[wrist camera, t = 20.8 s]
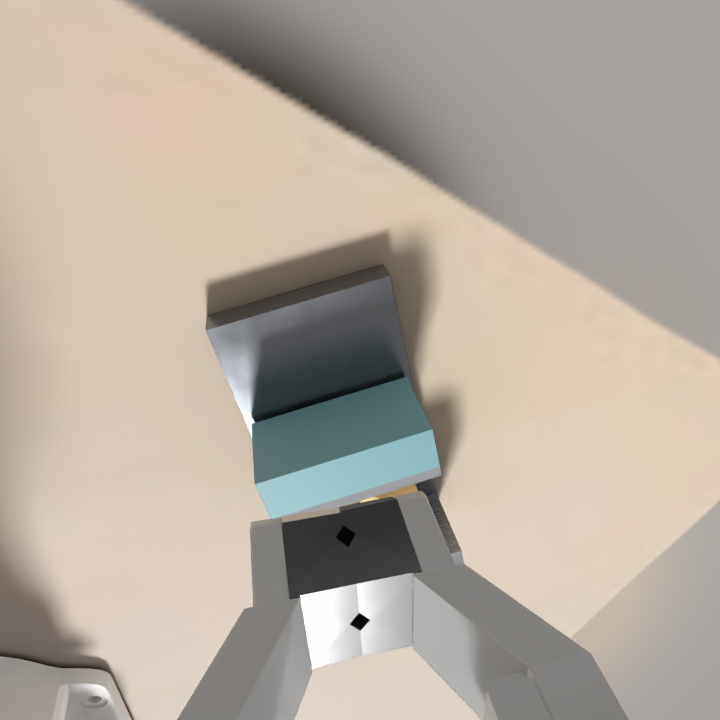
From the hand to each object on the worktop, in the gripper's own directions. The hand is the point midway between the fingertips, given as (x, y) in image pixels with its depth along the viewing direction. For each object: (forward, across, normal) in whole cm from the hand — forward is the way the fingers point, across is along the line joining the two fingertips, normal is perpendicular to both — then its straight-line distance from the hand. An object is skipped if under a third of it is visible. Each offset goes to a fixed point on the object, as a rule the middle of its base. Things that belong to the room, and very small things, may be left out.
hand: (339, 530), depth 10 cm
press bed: (+19, -2, +13) cm, 23 cm away
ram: (+17, -2, +11) cm, 20 cm away
